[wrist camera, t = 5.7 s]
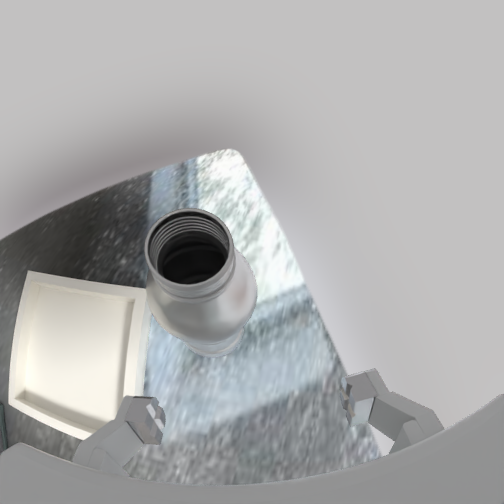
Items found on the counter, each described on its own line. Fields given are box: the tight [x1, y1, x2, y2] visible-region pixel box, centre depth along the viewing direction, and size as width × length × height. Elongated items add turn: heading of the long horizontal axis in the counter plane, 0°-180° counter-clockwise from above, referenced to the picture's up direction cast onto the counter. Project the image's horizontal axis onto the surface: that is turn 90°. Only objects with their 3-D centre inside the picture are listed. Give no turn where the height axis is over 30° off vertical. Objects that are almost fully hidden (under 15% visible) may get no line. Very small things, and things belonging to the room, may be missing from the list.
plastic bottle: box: [144, 208, 257, 358], centre depth 20 cm, size 6×7×20 cm
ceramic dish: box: [9, 270, 152, 450], centre depth 24 cm, size 18×18×3 cm
